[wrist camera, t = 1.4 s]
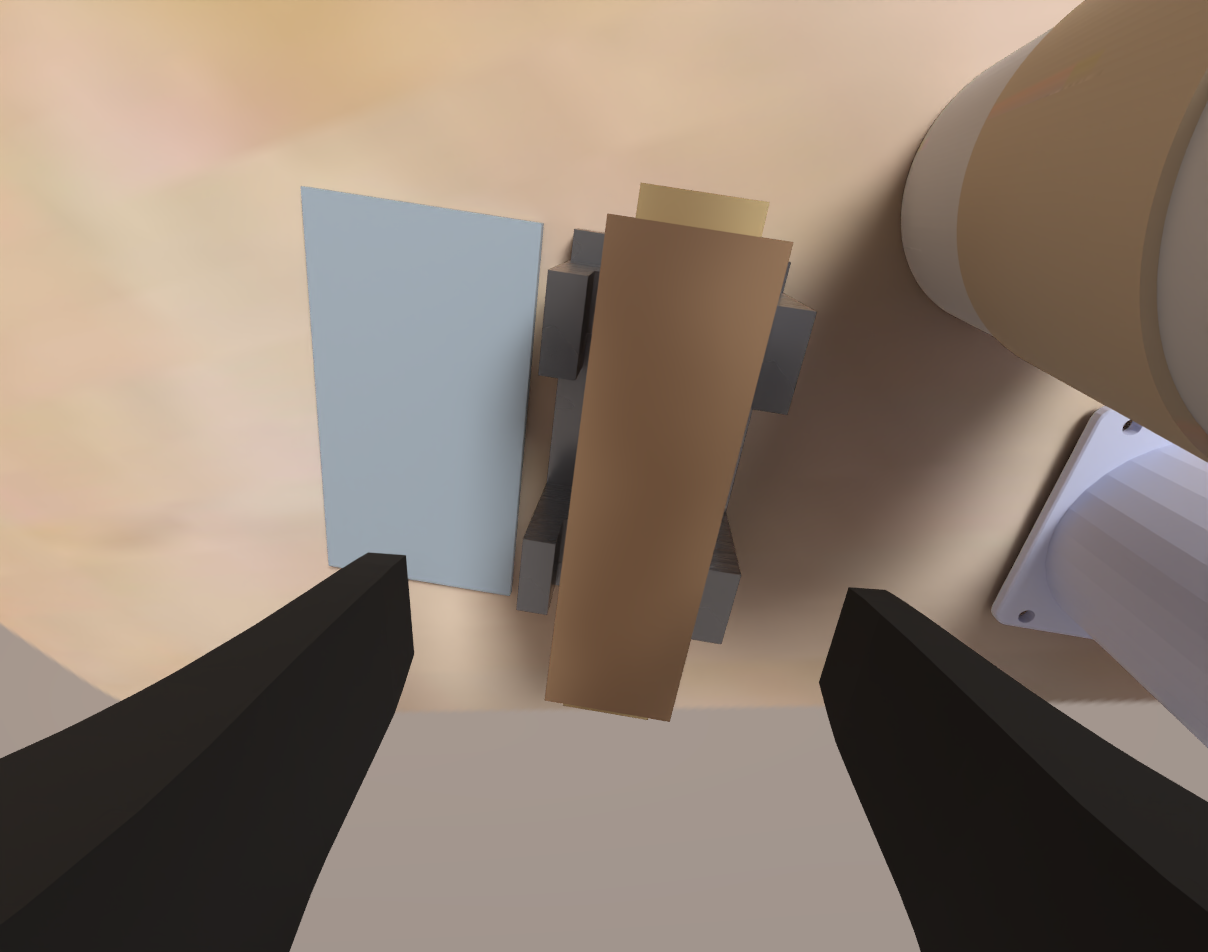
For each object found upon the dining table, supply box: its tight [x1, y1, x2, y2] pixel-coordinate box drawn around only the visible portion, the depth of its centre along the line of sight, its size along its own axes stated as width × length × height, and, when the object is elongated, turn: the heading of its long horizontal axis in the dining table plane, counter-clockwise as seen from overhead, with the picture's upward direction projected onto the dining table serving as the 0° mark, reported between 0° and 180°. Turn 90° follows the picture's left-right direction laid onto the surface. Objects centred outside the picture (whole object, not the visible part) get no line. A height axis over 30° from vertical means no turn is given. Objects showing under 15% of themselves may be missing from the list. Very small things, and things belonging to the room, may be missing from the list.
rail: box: [545, 183, 793, 722], centre depth 14 cm, size 3×13×3 cm, turn 172°
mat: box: [301, 186, 544, 596], centre depth 19 cm, size 7×13×1 cm, turn 172°
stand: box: [516, 229, 817, 644], centre depth 17 cm, size 6×11×4 cm, turn 172°
